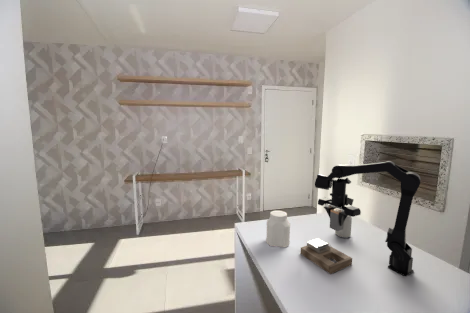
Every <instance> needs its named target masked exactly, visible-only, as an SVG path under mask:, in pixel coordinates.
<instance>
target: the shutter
mask: <svg viewBox="0 0 470 313" xmlns="http://www.w3.org/2000/svg"><path fill="white" fill-rule="evenodd" d="M306 246H308V247H309V248H311V249H312V250H314V251H316V252H317V253H319V254H320V253H322V252H325V251H328V250H330V247H332V246H331V244H330V243H329V242H325V241H324V240H322V239H320V238H315V239H312V240H308V241H306Z"/></svg>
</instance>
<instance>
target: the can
mask: <svg viewBox="0 0 470 313" xmlns="http://www.w3.org/2000/svg"><path fill="white" fill-rule="evenodd" d="M352 220H353V218H352V217H351V216H347V217H346V219H345V221H344V227H343V230H340V231H336V230H334V232H335V235H336V236H338V237H340V238H344V239H347V238H348V239H349V238H350V237H351V236H352V222H353V221H352Z"/></svg>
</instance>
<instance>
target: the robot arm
mask: <svg viewBox="0 0 470 313" xmlns="http://www.w3.org/2000/svg"><path fill="white" fill-rule="evenodd" d="M385 172H387V174H389V175H391V176H392V177H393V178H395V179H396V180H398V181H399V182H400V199H399V203H398V209H397V214H396V218H395V222H394V226H393V228H391V227H388V230H387V234H386V238H385V241H384V242H385V243H386V247H387V248H388V249H389V250H390V251H391V252H390V254H389V257H388V258H389V259H388V265H387V268H388V269H390V270H392V271H394V272H396V273H398V274H400V275H402V276H404V277H407V276H409V275H411V274H412V273H414V272H415V270H414V269H413V261H414V258H413V257H412V252H413V248H412V247H411V246H410V244H408V243H407V230H406V229H407V225H408V220H409V216H410V212H411V207H412V204H413V199H414V197H415V195H416V194H417V191H418V189H419V187H420V185H421V176H420V175H419V174H418V173H417V172H415V171H408V170H407V169H405V168H404V167H402V166H400V165H398V164H396V163H395V162H394V161H391V160H387V161H382V162H372V163H365V164H363V163H362V164H357V165H356V164H345V163H342V164H341V163H340V164H337V165H334V166H333V167H332V169H331V172H330V173H329V174H328V175H323V174H320V173H319V174H317V175H316V179H315V181H314V188H316V189H321V190H326V191H327V190H330V189H331V192H329V196H330V197H331V198H329V197H321V198H319V199H318V200H317V205H319V206H322V207H323V209H324V210H325V211H326V213H327V215H328V217H329V219H330V212H331V210H332V209H336V208H337V209H340V210H342V212H340V213H339V223H340V226H342V225H343V223H344V221H345V219H346V217H347V216H351V217H357V216H361V214H362V211H361V209H360V208H359V207H356V206H354V205H353V203H354V198H351V197H349V196H348V194H347V192H346V190H347V185H349V184H351V183H352V181H351V180H350V179H349V178H348V177H349V176H353V175H360V174H373V173H385Z"/></svg>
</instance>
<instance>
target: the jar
mask: <svg viewBox="0 0 470 313" xmlns="http://www.w3.org/2000/svg"><path fill="white" fill-rule="evenodd" d="M269 214H270V215H269V218H268V219H267V220H266V237H265V239H266V240H265V241H266V244H267V245H269V246H270V247H277V248H287V247H289V246H290V244H291V241H290V237H291V236H290V234H291V222H290V221H289V219H288V212H286V211H284V210H272V211H270V213H269Z"/></svg>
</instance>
